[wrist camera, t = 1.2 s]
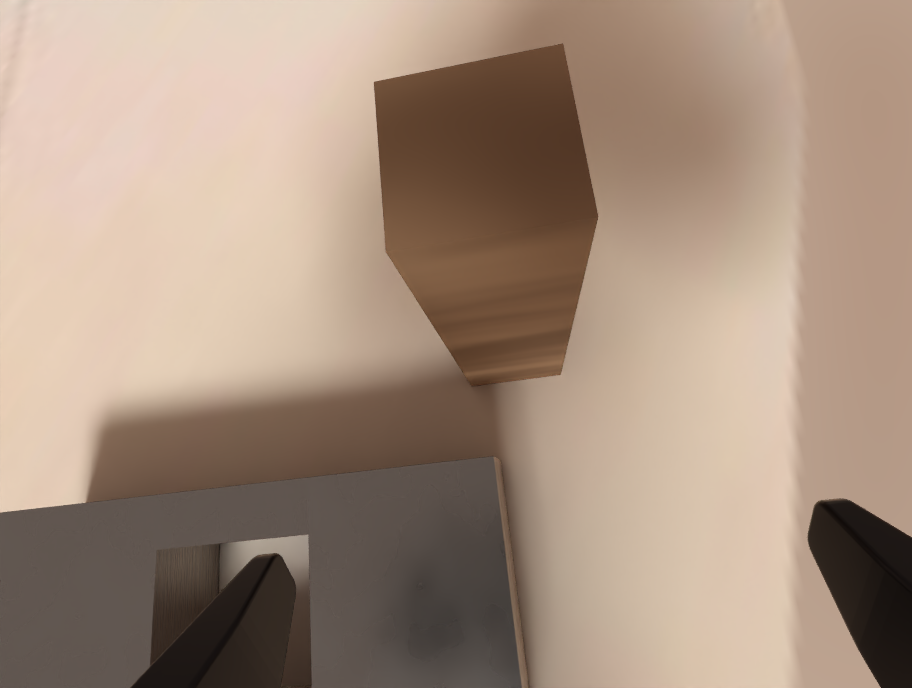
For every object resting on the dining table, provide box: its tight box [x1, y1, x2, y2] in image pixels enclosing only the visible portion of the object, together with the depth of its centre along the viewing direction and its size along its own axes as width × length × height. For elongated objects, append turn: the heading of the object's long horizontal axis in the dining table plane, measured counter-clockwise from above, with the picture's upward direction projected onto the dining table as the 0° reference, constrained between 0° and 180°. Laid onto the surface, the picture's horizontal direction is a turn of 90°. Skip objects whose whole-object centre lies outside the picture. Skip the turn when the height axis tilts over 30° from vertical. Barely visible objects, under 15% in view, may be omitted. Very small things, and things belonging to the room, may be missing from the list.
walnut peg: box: [374, 44, 598, 386], centre depth 17 cm, size 4×4×14 cm
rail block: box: [0, 456, 529, 688], centre depth 20 cm, size 10×20×4 cm, turn 96°
